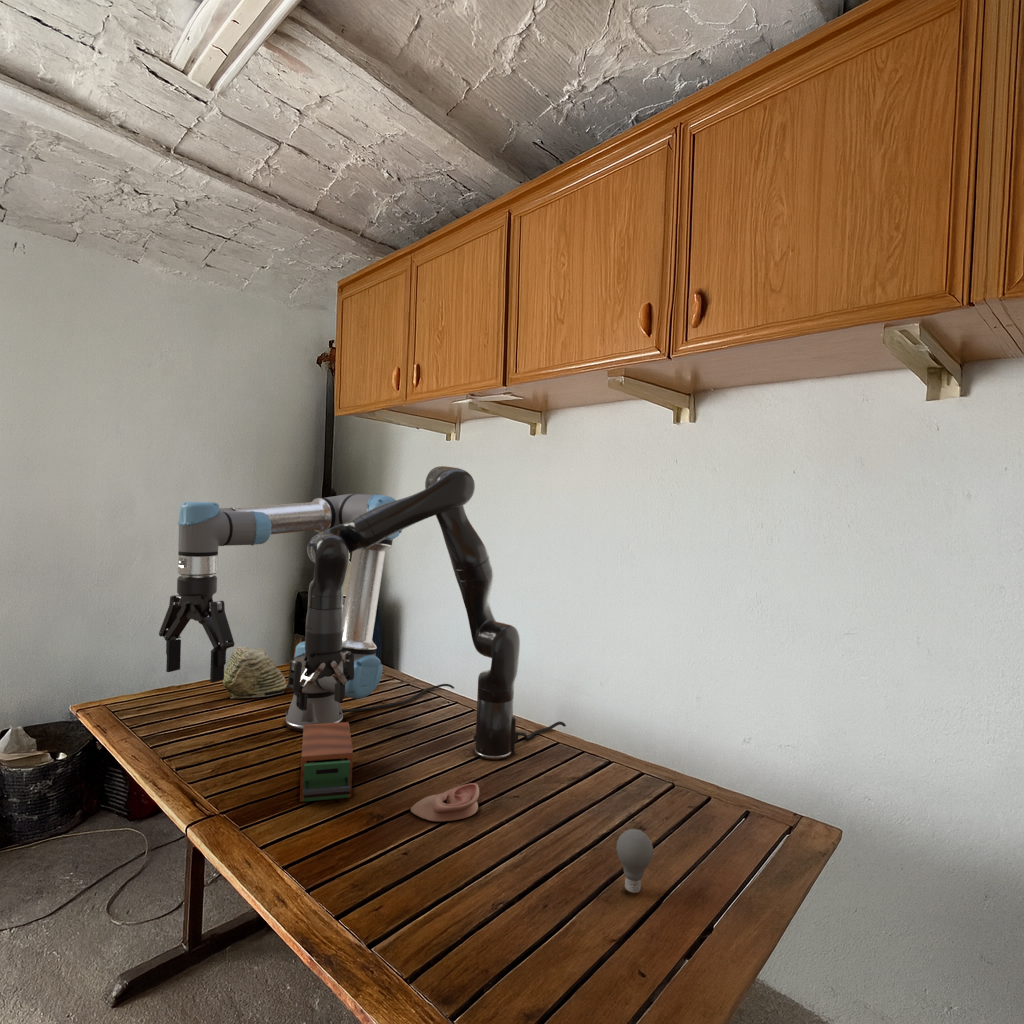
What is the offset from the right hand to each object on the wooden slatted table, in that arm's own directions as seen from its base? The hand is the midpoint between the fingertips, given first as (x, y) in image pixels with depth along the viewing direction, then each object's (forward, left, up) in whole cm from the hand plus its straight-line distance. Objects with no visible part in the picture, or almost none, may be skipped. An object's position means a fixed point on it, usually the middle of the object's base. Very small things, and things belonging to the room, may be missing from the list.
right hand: (320, 705), depth 133 cm
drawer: (-2, -2, -19) cm, 19 cm away
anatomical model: (-23, +15, -20) cm, 34 cm away
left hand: (+24, -13, +5) cm, 27 cm away
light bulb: (-42, +53, -20) cm, 70 cm away
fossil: (+5, -76, -20) cm, 78 cm away
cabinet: (-3, -8, -20) cm, 21 cm away
